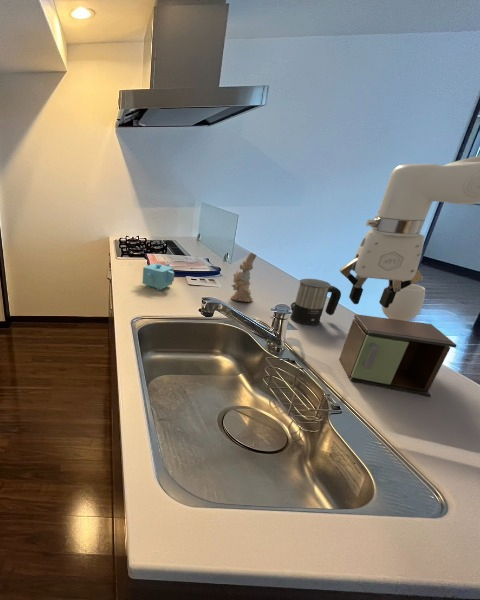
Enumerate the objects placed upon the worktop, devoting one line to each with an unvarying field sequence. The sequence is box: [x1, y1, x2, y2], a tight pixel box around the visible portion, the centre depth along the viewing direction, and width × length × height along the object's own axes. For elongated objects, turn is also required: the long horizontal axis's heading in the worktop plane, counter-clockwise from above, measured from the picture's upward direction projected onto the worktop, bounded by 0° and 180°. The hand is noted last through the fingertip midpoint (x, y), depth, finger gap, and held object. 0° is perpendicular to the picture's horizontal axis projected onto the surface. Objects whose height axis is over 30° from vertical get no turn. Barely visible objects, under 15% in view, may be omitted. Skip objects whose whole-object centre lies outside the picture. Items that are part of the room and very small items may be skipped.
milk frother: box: [289, 278, 342, 326], centre depth 119 cm, size 14×16×15 cm
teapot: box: [141, 262, 176, 291], centre depth 151 cm, size 16×18×11 cm
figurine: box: [230, 252, 257, 303], centre depth 133 cm, size 9×8×20 cm
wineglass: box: [381, 283, 426, 321], centre depth 95 cm, size 9×9×21 cm
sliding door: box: [351, 335, 409, 385], centre depth 80 cm, size 8×4×13 cm, turn 66°
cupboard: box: [338, 313, 457, 398], centre depth 84 cm, size 16×11×15 cm
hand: (368, 303), depth 75 cm, fingers open, 4 cm apart
